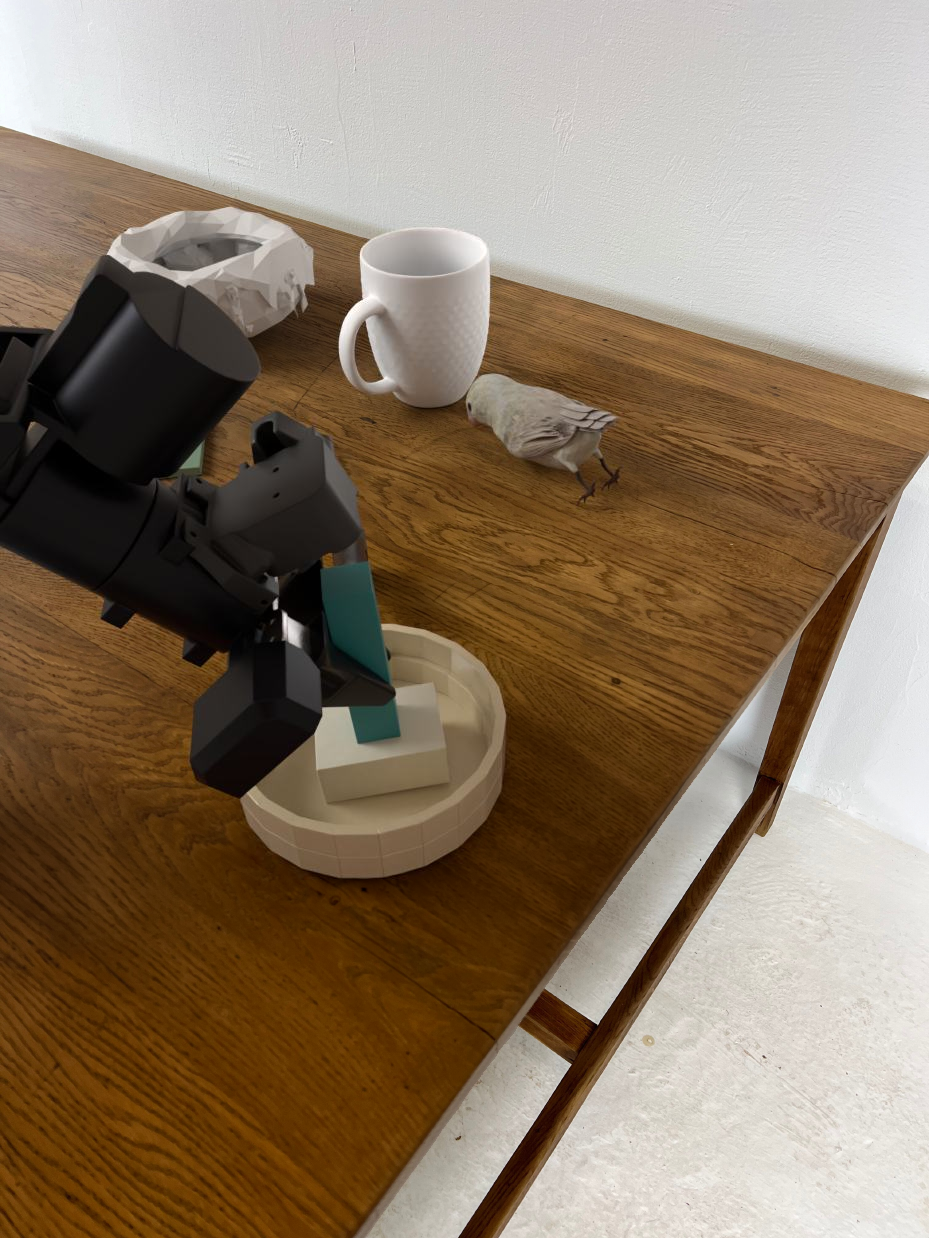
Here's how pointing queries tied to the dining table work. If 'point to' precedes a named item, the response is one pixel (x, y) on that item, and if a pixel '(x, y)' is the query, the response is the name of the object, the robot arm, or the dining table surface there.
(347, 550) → the pan handle
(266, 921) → the dining table surface
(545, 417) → the decorative bird
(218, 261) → the bowl
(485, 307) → the mug
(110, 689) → the dining table surface
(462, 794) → the pan
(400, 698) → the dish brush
